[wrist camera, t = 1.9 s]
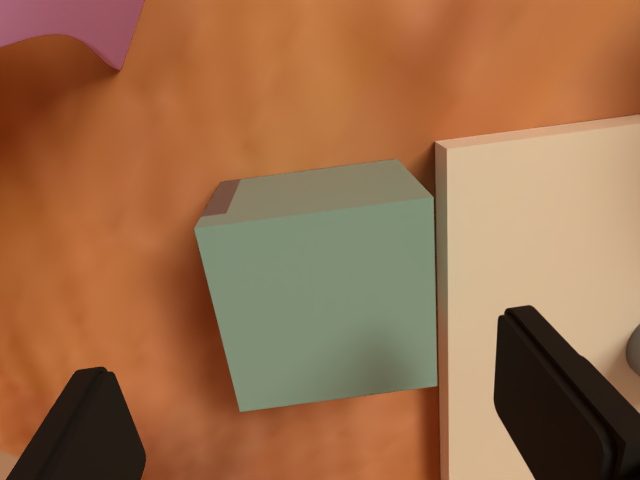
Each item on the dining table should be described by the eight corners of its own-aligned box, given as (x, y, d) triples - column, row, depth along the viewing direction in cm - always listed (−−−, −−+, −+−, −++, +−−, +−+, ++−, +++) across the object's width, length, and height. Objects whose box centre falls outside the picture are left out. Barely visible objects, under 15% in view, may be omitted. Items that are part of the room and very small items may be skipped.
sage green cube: (404, 310, 20) (437, 386, 16) (252, 330, 20) (239, 411, 16) (397, 158, 17) (433, 197, 13) (220, 182, 17) (194, 228, 13)
